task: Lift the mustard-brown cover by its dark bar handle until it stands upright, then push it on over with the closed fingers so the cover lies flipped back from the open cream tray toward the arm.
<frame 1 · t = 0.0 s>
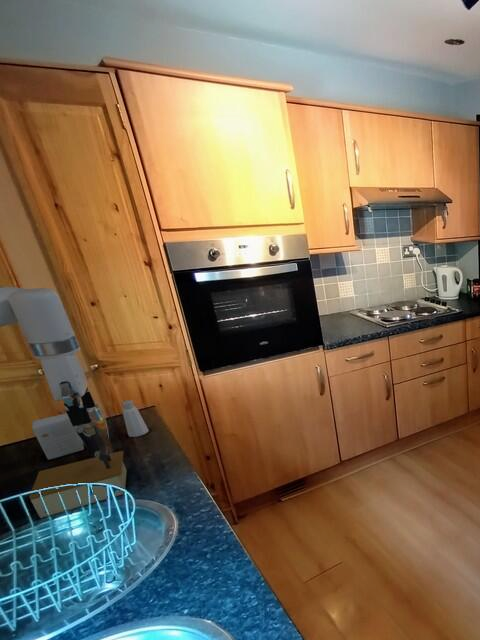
hand: (84, 415, 105), 22 cm above the worktop, tool pointing down, fingers open, 9 cm apart
small box: (66, 452, 132), on the worktop
cover: (77, 466, 111), point 8 cm above the worktop, hinge at 0.0°
beer glass: (103, 455, 130), on the worktop
open cream tray: (86, 492, 114), on the worktop
pepper shaker: (138, 433, 142), on the worktop
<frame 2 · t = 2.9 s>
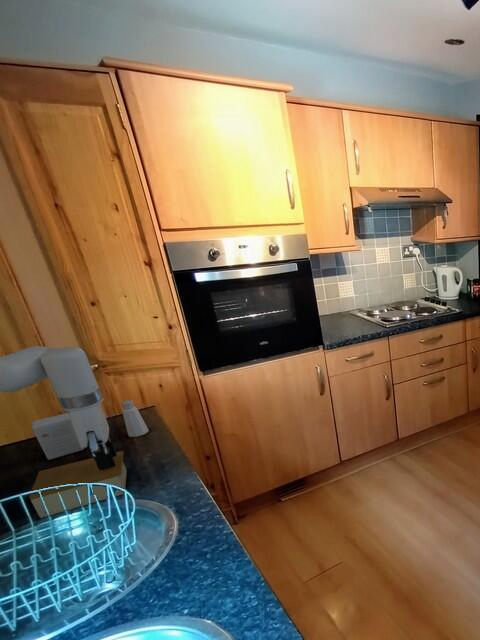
hand: (108, 462, 115), 7 cm above the worktop, tool pointing down, fingers closed on cover, 5 cm apart
cover: (77, 466, 111), point 8 cm above the worktop, hinge at 0.0°, touching gripper
everything else where it was.
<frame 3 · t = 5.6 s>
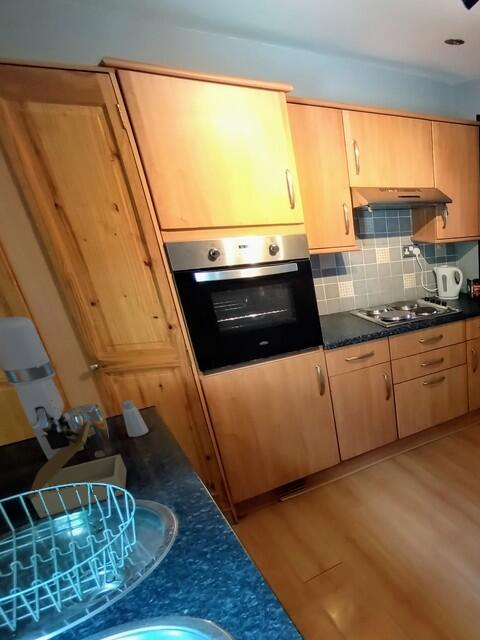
hand: (62, 441, 108), 15 cm above the worktop, tool pointing down, fingers closed on cover, 5 cm apart
cover: (50, 453, 108), point 13 cm above the worktop, hinge at 40.6°, touching gripper
everything else where it was.
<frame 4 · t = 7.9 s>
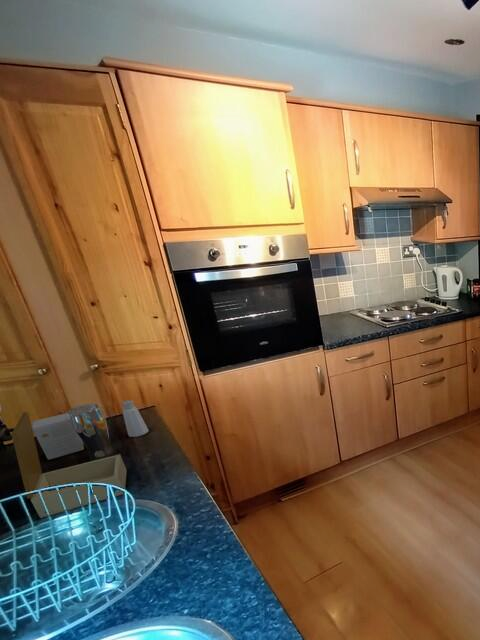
cover: (14, 456, 104), point 14 cm above the worktop, hinge at 81.1°, touching gripper
everything else where it was.
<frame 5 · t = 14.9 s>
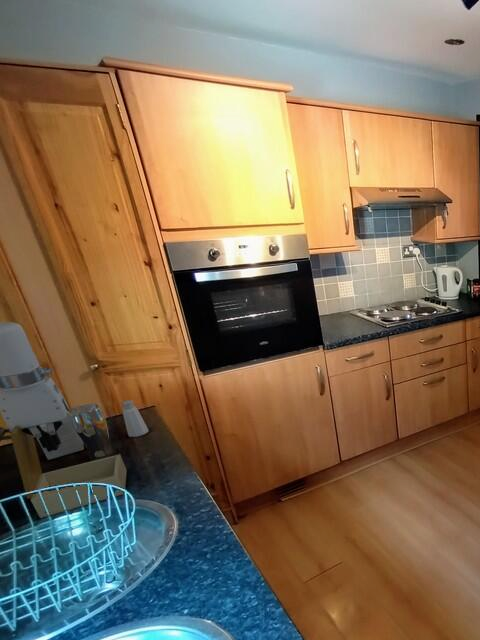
hand: (53, 448, 108), 14 cm above the worktop, tool pointing down, fingers closed
cover: (14, 456, 104), point 14 cm above the worktop, hinge at 81.7°, touching gripper
everything else where it was.
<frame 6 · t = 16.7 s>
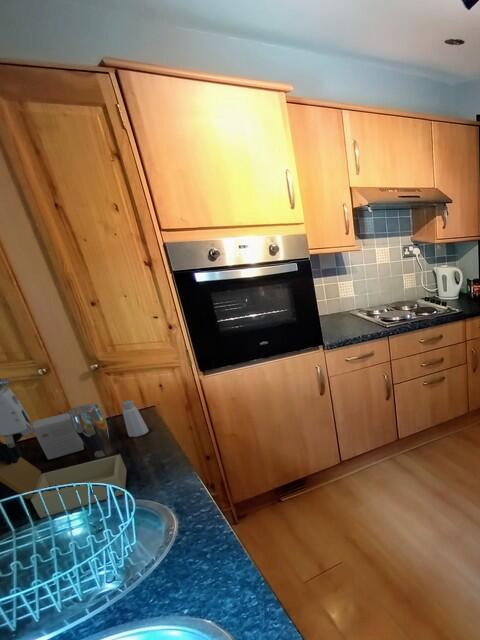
hand: (13, 461, 104), 13 cm above the worktop, tool pointing down, fingers closed
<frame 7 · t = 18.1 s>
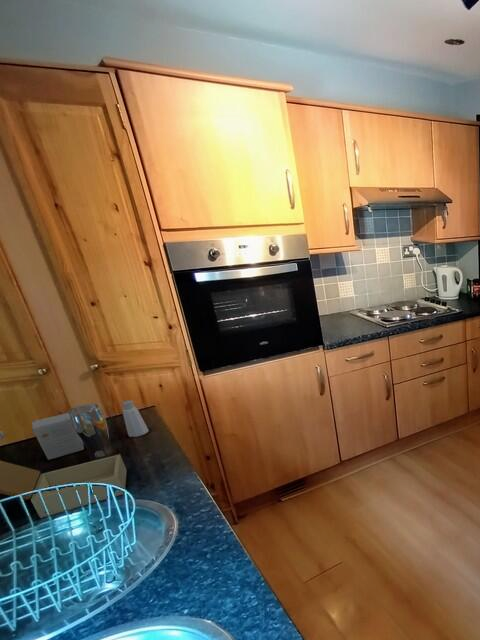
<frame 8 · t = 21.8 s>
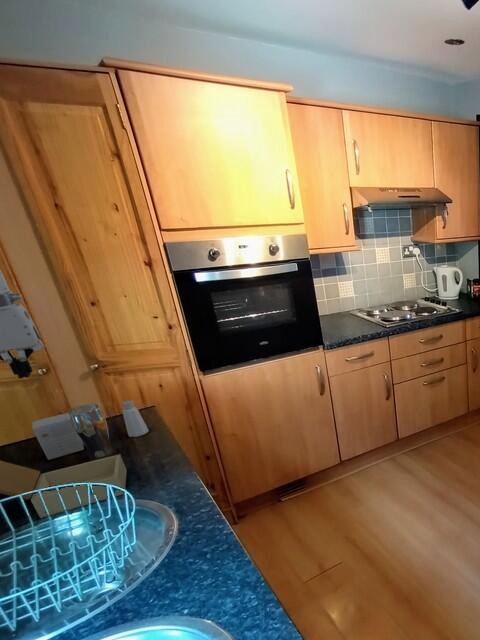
hand: (25, 376, 109), 29 cm above the worktop, tool pointing down, fingers closed
at the end: cover at +136° (first picture: +0°); cover reached +136° during the clip, +136° at the end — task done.
